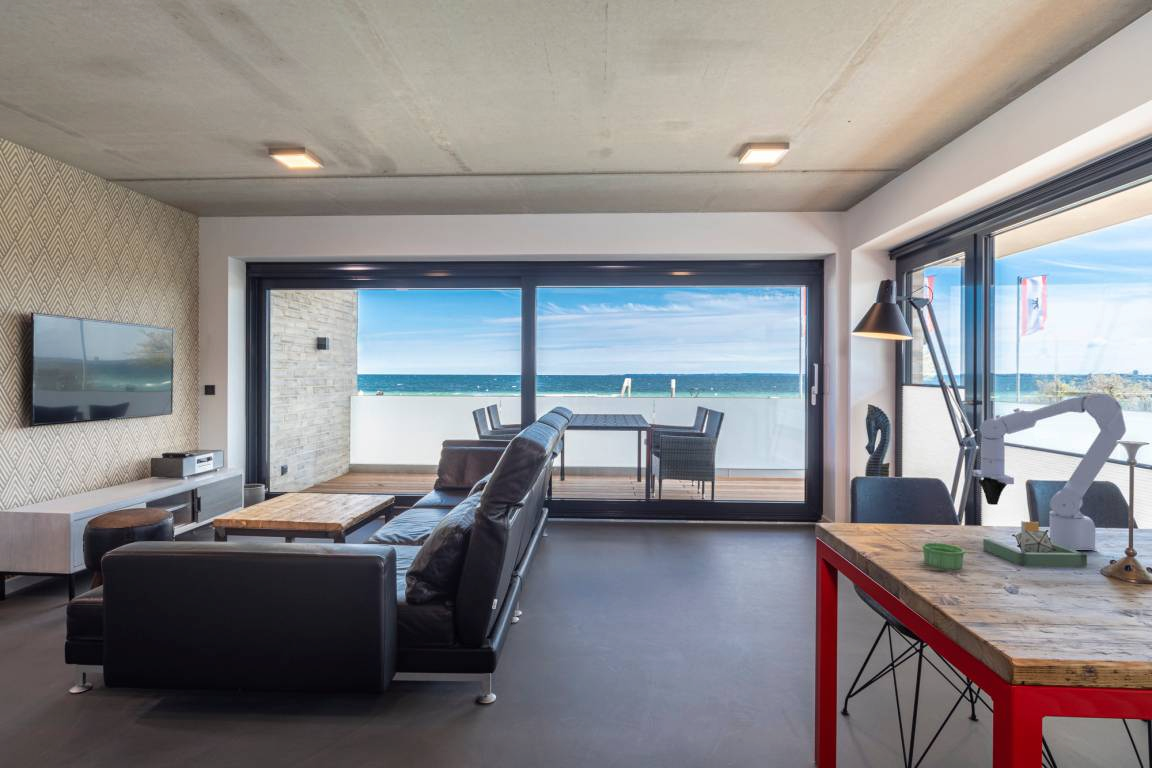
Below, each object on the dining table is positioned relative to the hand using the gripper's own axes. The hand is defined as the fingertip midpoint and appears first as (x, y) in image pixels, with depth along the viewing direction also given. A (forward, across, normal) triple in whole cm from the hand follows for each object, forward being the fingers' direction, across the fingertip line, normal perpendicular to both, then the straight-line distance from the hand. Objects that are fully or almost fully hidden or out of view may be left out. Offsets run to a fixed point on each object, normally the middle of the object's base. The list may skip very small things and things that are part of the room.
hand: (992, 504), depth 172 cm
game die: (+10, +22, -4) cm, 24 cm away
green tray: (+9, +22, -5) cm, 24 cm away
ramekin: (+10, +28, -32) cm, 44 cm away
